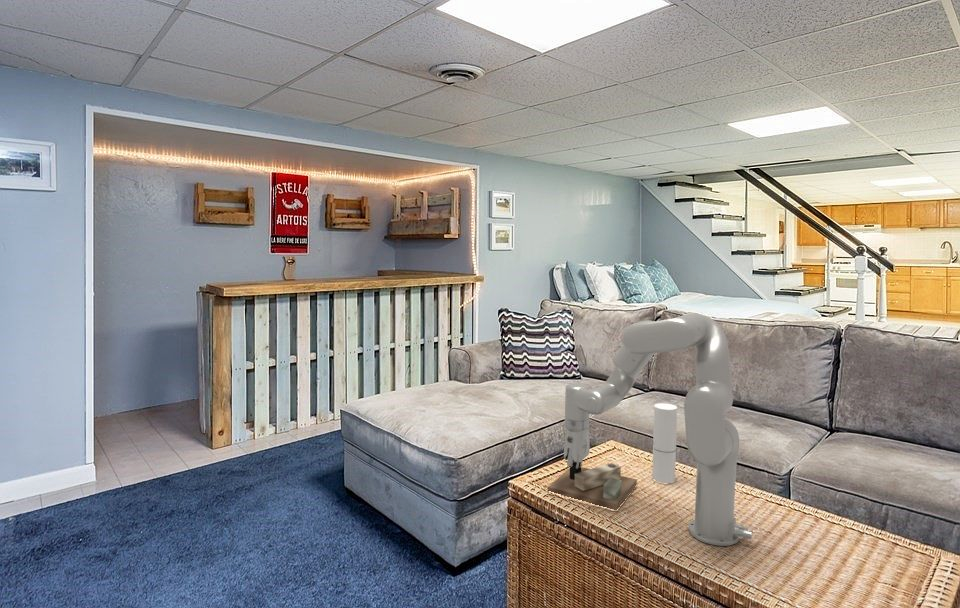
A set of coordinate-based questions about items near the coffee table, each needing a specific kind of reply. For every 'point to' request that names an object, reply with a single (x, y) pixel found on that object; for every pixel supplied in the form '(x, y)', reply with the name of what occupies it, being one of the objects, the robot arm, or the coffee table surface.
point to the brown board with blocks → (595, 490)
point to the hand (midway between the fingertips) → (575, 479)
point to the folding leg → (597, 476)
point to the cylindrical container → (664, 442)
